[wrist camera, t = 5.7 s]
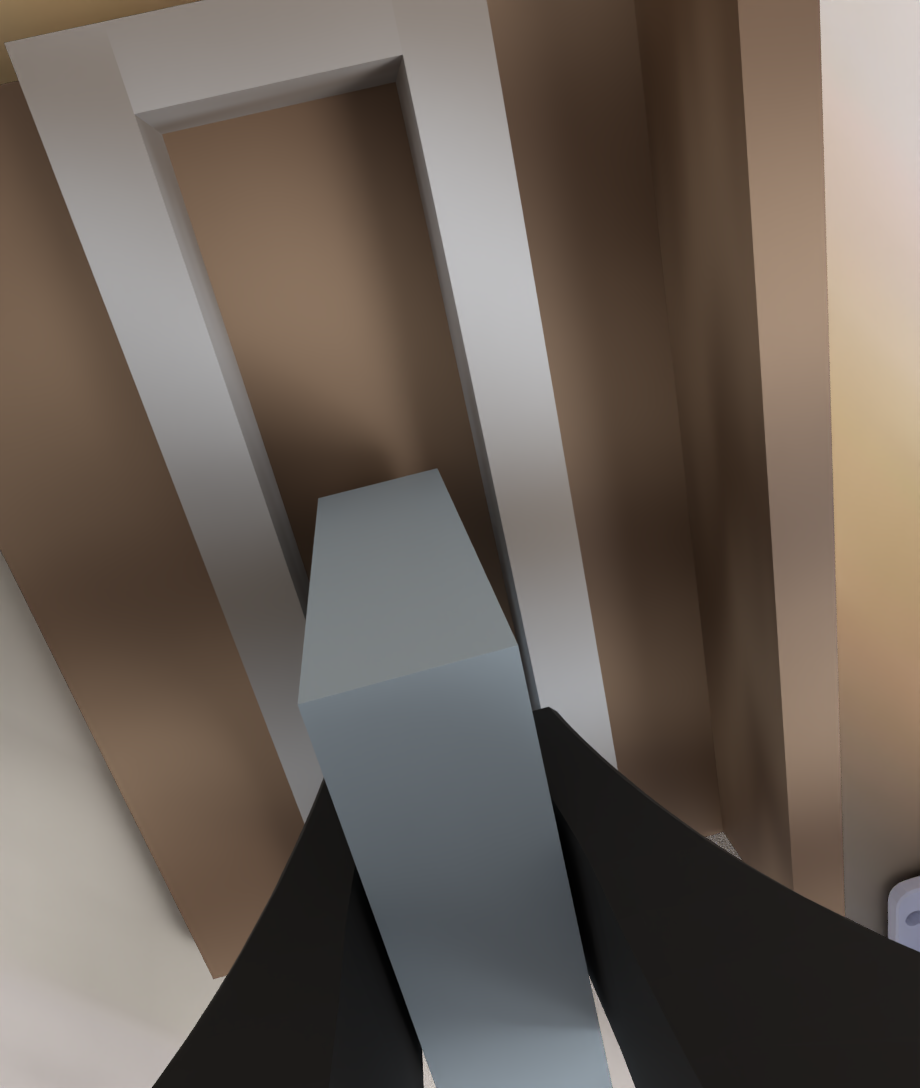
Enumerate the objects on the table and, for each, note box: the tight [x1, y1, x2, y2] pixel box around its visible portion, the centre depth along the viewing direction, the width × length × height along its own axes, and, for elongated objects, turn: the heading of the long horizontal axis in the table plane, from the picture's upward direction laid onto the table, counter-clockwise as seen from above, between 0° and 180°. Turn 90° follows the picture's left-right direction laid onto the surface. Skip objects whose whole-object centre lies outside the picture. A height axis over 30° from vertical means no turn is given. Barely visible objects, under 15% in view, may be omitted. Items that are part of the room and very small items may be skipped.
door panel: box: [298, 468, 613, 1088], centre depth 11 cm, size 8×2×6 cm, turn 12°
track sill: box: [0, 0, 845, 979], centre depth 13 cm, size 17×13×4 cm
